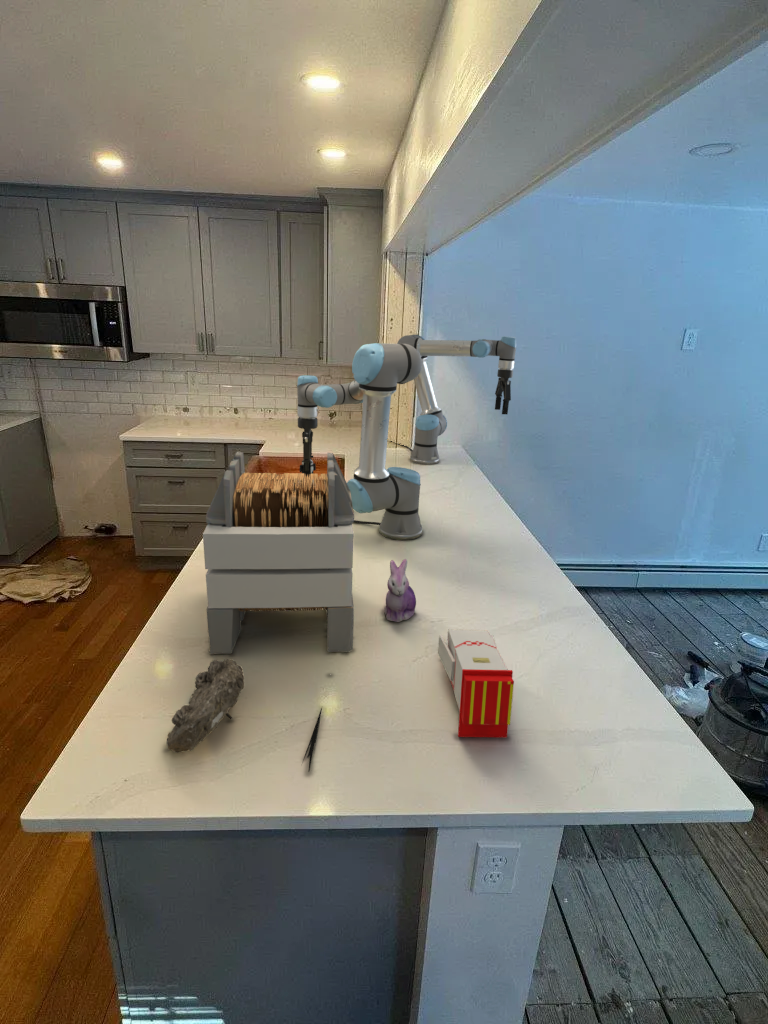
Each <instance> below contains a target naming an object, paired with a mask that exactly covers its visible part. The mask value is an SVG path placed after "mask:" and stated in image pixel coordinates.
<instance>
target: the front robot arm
mask: <svg viewBox="0 0 768 1024" xmlns="http://www.w3.org/2000/svg"><path fill="white" fill-rule="evenodd" d="M421 369H422V359H421V356H420V354H419V352H418V351H417V350H416V349H415V348H414V347H413V346H411V345H408V344H397V343H384V342H383V343H379V342H374V343H366V344H363V345H361V346H360V347H359V348H358V349H357V350H356V352H355V354H354V355H353V359H352V365H351V373H352V374H353V375H352V376H353V379H354V380H352V381H350V382H348V383H335V384H332V383H329V384H321V383H319V380H318V379H319V378H318V377H317V376H316V375H311V374H310V375H309V374H307V375H305V374H304V375H299V376H298V377H297V385H296V389H297V390H296V391H297V396H296V397H297V409H296V410H297V428H299V429H302V430H303V431H302V432H301V437H302V446H303V447H302V448H303V449H302V452H303V453H302V455H303V456H302V457H303V458H302V460H301V463H302V462H304V474H306V477H307V474H308V477H309V474H311V460H312V461H313V459H314V455H313V444H312V443H313V437H314V431H313V430H315V429H317V428H318V427H319V426H318V423H319V422H318V420H319V419H318V412H320V409H319V408H318V407H320V408H326V409H329V408H332V407H333V406H343V405H359V404H362V410H361V411H362V412H361V427H360V428H361V429H360V441H359V442H360V443H359V447H360V448H359V458H358V459H359V461H358V466H357V467H356V468H355V469H354V470H353V478H350V479H349V480H347V481H346V483H347V485H348V487H349V489H350V491H351V492H350V493H351V499H352V505H353V511H354V512H356V513H358V514H367V513H369V514H371V513H373V512H378V511H384V513H383V515H382V519H381V522H378V521H377V522H376V521H365V520H357V519H354V522H353V523H352V524H361V525H372V526H378V533H379V534H380V535H381V536H382V537H385V538H387V539H389V540H395V541H410V540H415V539H418V538H420V537H421V536H422V535H423V525H422V524H421V518H420V515H419V507H420V506H419V505H420V504H419V503H420V494H421V493H420V492H421V474H420V472H418V471H416V470H414V469H411V468H407V467H401V466H400V467H399V466H390V467H388V468H386V462H387V450H388V440H387V439H389V425H390V413H391V401H392V395H393V394H395V393H396V392H397V386H398V385H405V384H407V383H409V382H412V381H414V379H415V378H416V377H417V376H418V375H419V373H420V371H421ZM310 459H311V460H310Z"/></svg>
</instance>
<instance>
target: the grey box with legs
mask: <svg viewBox="0 0 768 1024" xmlns="http://www.w3.org/2000/svg"><path fill="white" fill-rule="evenodd" d="M244 455H245V454H244V451H242V452H241V451H236V452H235V454H234V456H233V458H232V459H230V463H229V465H228V467H227V469H226V470H224V473H223V475H222V478H221V479H220V482H219V484H218V487H217V489H216V491H215V494H214V495H213V497H212V500H211V502H210V505H209V507H208V509H207V511H206V515H205V523H206V524H207V525H206V527H205V529H204V531H203V533H202V543H203V558H204V569H205V570H206V573H205V584H206V587H205V588H206V598H207V599H206V601H207V607H206V623H207V634H208V641H209V642H208V643H209V650H208V653H209V655H216V654H217V655H218V654H221V655H222V654H223V655H226V654H227V655H228V654H230V655H231V654H232V653H233V650H234V648H235V647H236V643H237V641H238V638H239V636H240V634H241V630H242V626H241V625H242V623H241V622H243V621H244V618H245V615H246V612H272V611H273V612H279V611H280V612H284V611H286V612H288V611H289V612H291V611H292V612H293V611H294V612H295V611H303V612H304V611H322V610H323V611H326V636H327V637H326V641H327V645H326V646H327V652H329V653H330V652H332V653H333V652H343V653H349V652H351V651H352V650H354V617H355V616H354V614H355V607H354V598H353V575H354V573H353V566H354V563H353V562H354V537H355V536H354V535H355V532H354V527H353V524H354V523H353V522H354V520H355V510H354V509H353V505H352V499H351V493H350V492H351V491H350V489H349V487H348V485H347V480H346V479H345V476H344V474H343V472H342V470H341V467H340V465H339V463H338V461H337V459H336V457H335V455H334V453H333V452H327V453H326V456H327V457H326V468H327V469H326V473H320V474H318V473H313V474H309V477H308V474H307V477H306V474H304V473H302V472H298V473H297V472H294V473H293V472H292V473H291V472H290V473H288V472H283V473H276V472H273V473H271V472H263V473H262V472H259V473H258V472H253V473H252V472H245V468H246V467H245V456H244Z"/></svg>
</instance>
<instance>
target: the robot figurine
mask: <svg viewBox="0 0 768 1024" xmlns="http://www.w3.org/2000/svg"><path fill="white" fill-rule="evenodd" d="M310 460H311V459H310ZM316 466H317V465H316V462H314V461H313V459H312V460H311V474H314V471H316V470H317V467H316ZM299 473H304V462H302V461H301V464H300V465H299Z"/></svg>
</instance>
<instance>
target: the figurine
mask: <svg viewBox="0 0 768 1024" xmlns="http://www.w3.org/2000/svg"><path fill="white" fill-rule="evenodd" d="M407 567H408V559H406V558H404V559H403V560H402V561H401V563H400V565H399V566H398V565H397V563H396V562H395V561H394V560H393V559H391V560H390V561H389V570H390V576H389V578H388V579H387V589H388V591H387V592H386V594H385V595H386V596H385V607H384V615H385V616H386V620H387V621H391V622H395V623H400V622H402V621H406V620H409V619H410V618H411V617H413V616H414V615H415V610H416V606H417V597H416V593H415V591H414V590H413V587H411V586H410V582H409V579H408V577H407V574H406V571H407Z"/></svg>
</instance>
